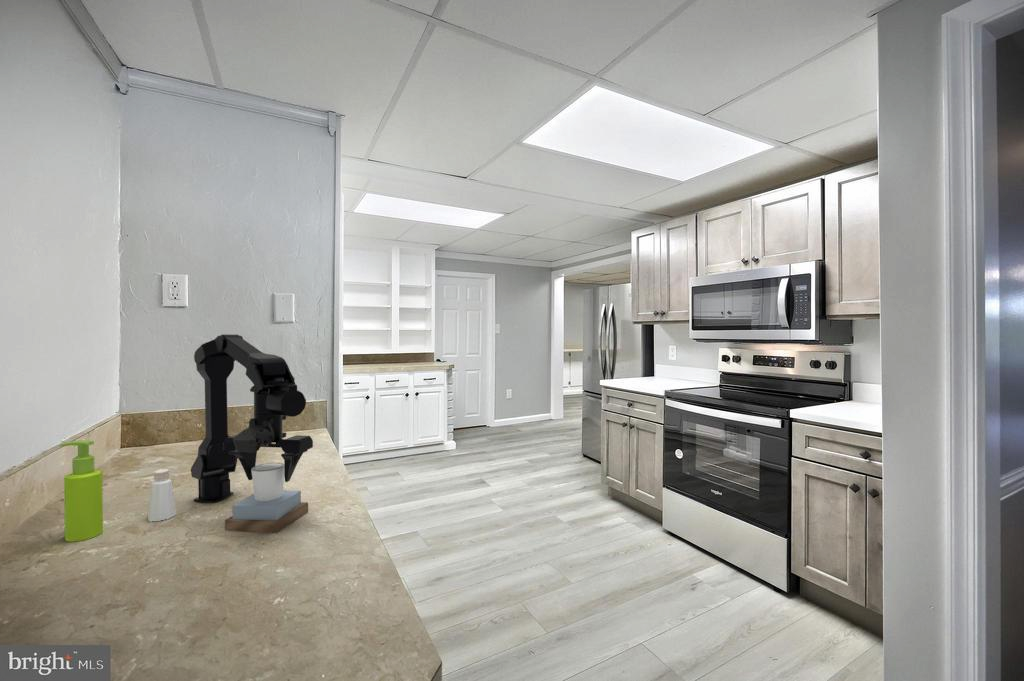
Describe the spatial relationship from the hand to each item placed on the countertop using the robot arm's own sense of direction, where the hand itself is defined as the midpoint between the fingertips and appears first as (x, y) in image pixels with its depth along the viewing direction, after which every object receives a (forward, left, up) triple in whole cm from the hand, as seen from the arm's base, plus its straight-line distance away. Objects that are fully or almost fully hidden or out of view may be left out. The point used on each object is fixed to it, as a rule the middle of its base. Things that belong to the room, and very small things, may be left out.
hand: (268, 480), depth 104 cm
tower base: (0, 0, -10) cm, 10 cm away
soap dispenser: (-34, -13, -9) cm, 38 cm away
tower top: (0, 0, -7) cm, 7 cm away
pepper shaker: (-26, -2, -9) cm, 28 cm away
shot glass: (0, +1, -4) cm, 4 cm away
